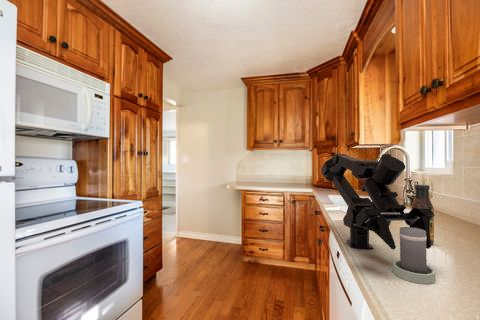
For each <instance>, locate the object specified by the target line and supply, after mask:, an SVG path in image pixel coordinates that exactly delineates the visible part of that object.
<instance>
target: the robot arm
mask: <svg viewBox="0 0 480 320" xmlns="http://www.w3.org/2000/svg"><path fill="white" fill-rule="evenodd" d="M320 170H321V175H322V176H323V178H324V179H325V180H327V181H328V182H331V183H332V184H333V185H334V187H335V189H336V190H337V191H338V193H339V195H340V196H341V198H342V199H343V201H344V202H345V205H347V210H346V213H345V215H344V216H343V218H342V221H343V226H345V227H347V228H349V239H347V240H346V242H347V243H348V245H349V246H350V247H351V248H352V249H353V248H356V249H367V250H368V249H369V250H373V249H374V247H373V245H371V243H370V231H371V232H374V234H375V235H376V236H378V237H379V238H380V239H381V240H382V241H383V242H384V243H385V244H386V245H387V246H388V247H389V249H391V250H395V249H396V248H397V247H396V246H397V245H396V243H395V240H394V238H393V235H392V232H391V229H390V225H391V223H392V222H394V221H404V222H405V224H406V225H407V226H408V227H412V228H418V229H422V230H425V231H426V250H428V249H429V250H430V249H431V248H432V245H431V239H430V220H431V219H432V218H433V217H434V218H435V216H436V215H435V212H434V213H433V212H432V211H431V209H430V208H426V207H414V208H413V209H412V208H411V210H410V211H409V212H405V210H406V209H407V207H406V205H405V204H400V202H399V200H398V199H397V197H398V196H399V194H398V193H397V191H392V190H391V187H389V186H390V185H391V186H392V185H393V184H395V182H396V181H397V180H398V178H399V177H400V176H401V175H402V173H403V172H404V171H405V170H406V164H405V163H404V161H402V160H400V159H399V158H397V157H395V156H392V155H391V153H382V155H381V156H380V158H379V160H361V159H359V158H356V157H353V156H350V155H348V154H345V153H335V154H333V155H332V156H331V158H330V159H327V160H326V161H324V163H323V164H322V166H321V169H320ZM347 170H348V171H351V175H352V177H354V178H355V179H357V180H365V181H364V182H363V183H362V187H361V193H362V192H363V193H364V192H365V193H367V194H368V196H369V197H360V195H359V194H358V193H357V191H356V190H355V189H354V187H353V186H352V185H351V183H350V182H349V180H348V179H347V178H346V177H345V173H346V172H347Z"/></svg>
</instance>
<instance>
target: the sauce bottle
mask: <svg viewBox="0 0 480 320" xmlns="http://www.w3.org/2000/svg"><path fill="white" fill-rule="evenodd" d="M414 190H415V195H414V196H415V198H414V199H413V200H412V202H411V210H412V209H413V208H414V207H426V208H430V209H431V211H432V212H433V213H434V214H435V208H434V206H433V204H432V201H431V200H430V192H429V191H430V185H429V184H414ZM430 239H431V246H432V245H434V243H435V241H434V240H435V216H434V217H433V218H432V219H431V220H430Z"/></svg>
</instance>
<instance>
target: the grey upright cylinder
mask: <svg viewBox="0 0 480 320" xmlns="http://www.w3.org/2000/svg"><path fill="white" fill-rule="evenodd" d="M427 259H428V258H427V248H426V231H425V230H422V229H418V228H412V227H410V226H402V227H399V260H400V268H401V269H403V270H405V271H409V272H413V273H417V274H427V266H428V265H427V262H428V260H427Z"/></svg>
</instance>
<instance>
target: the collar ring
mask: <svg viewBox="0 0 480 320" xmlns="http://www.w3.org/2000/svg"><path fill="white" fill-rule="evenodd" d="M392 273H393V274H394V275H395V276H396V277H399V278H400V279H402V280H404V281H408V282H412V283H415V284H422V285H430V284H436V270H435V269H434V268H432V267H431V266H429V265H427V274H417V273H413V272H409V271H405V270H403V269H401V268H400V259H399V260H394V261H393V262H392Z"/></svg>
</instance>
